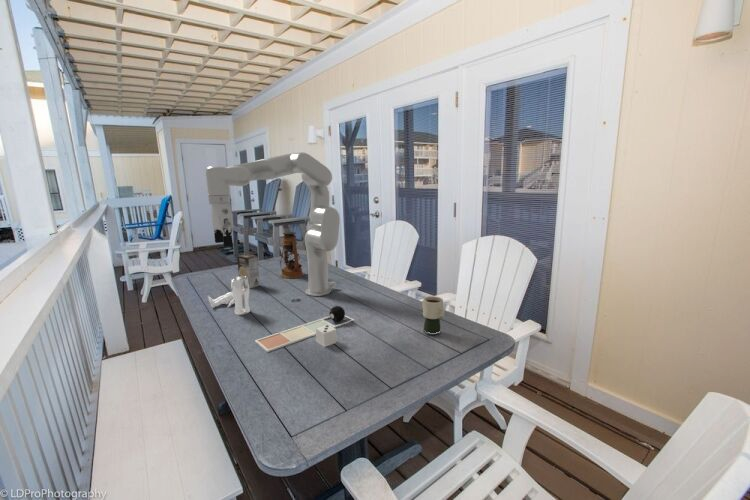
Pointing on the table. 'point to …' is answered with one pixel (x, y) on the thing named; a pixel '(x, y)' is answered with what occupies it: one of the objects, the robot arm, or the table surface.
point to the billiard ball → (337, 313)
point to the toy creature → (222, 300)
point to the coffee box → (249, 268)
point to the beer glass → (240, 294)
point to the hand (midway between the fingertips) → (223, 244)
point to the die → (326, 335)
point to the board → (294, 334)
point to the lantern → (292, 267)
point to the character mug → (432, 313)
